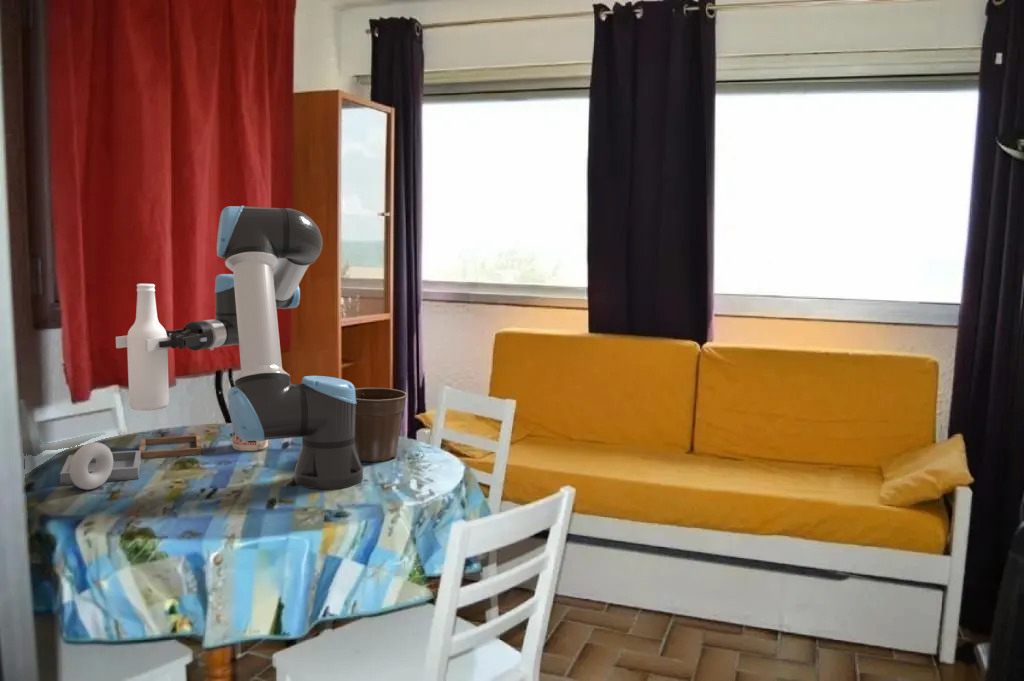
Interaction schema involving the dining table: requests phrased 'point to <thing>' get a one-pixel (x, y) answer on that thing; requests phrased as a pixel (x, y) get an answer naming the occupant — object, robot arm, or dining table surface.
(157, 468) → the dining table surface
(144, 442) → the square wooden frame
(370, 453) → the plant pot
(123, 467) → the tray
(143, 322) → the alcohol
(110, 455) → the donut
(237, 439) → the teacup with lid
